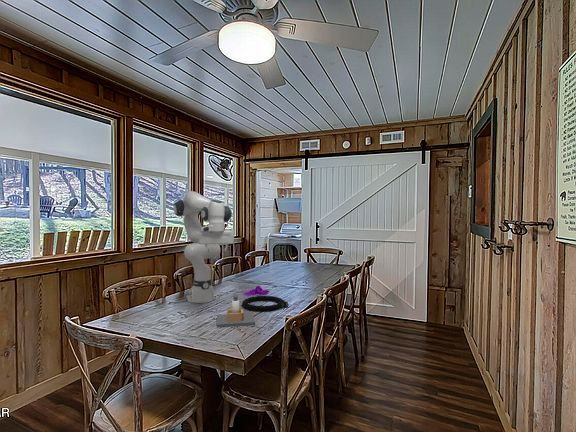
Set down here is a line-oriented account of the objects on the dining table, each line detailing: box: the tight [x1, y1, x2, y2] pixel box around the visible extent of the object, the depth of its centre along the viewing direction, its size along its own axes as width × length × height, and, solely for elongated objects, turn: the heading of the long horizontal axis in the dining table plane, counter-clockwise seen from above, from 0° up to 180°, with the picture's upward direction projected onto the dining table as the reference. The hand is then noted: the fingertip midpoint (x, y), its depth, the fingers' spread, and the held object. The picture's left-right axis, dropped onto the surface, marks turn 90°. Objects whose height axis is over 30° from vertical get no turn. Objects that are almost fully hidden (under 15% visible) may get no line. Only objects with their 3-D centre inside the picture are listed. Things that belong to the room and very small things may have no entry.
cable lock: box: [241, 295, 289, 313], centre depth 211 cm, size 28×4×30 cm
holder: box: [216, 308, 256, 328], centre depth 181 cm, size 20×16×6 cm
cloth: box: [243, 285, 270, 297], centre depth 242 cm, size 22×19×6 cm
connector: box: [231, 294, 240, 313], centre depth 181 cm, size 4×4×13 cm
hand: (216, 251), depth 190 cm, fingers open, 8 cm apart
